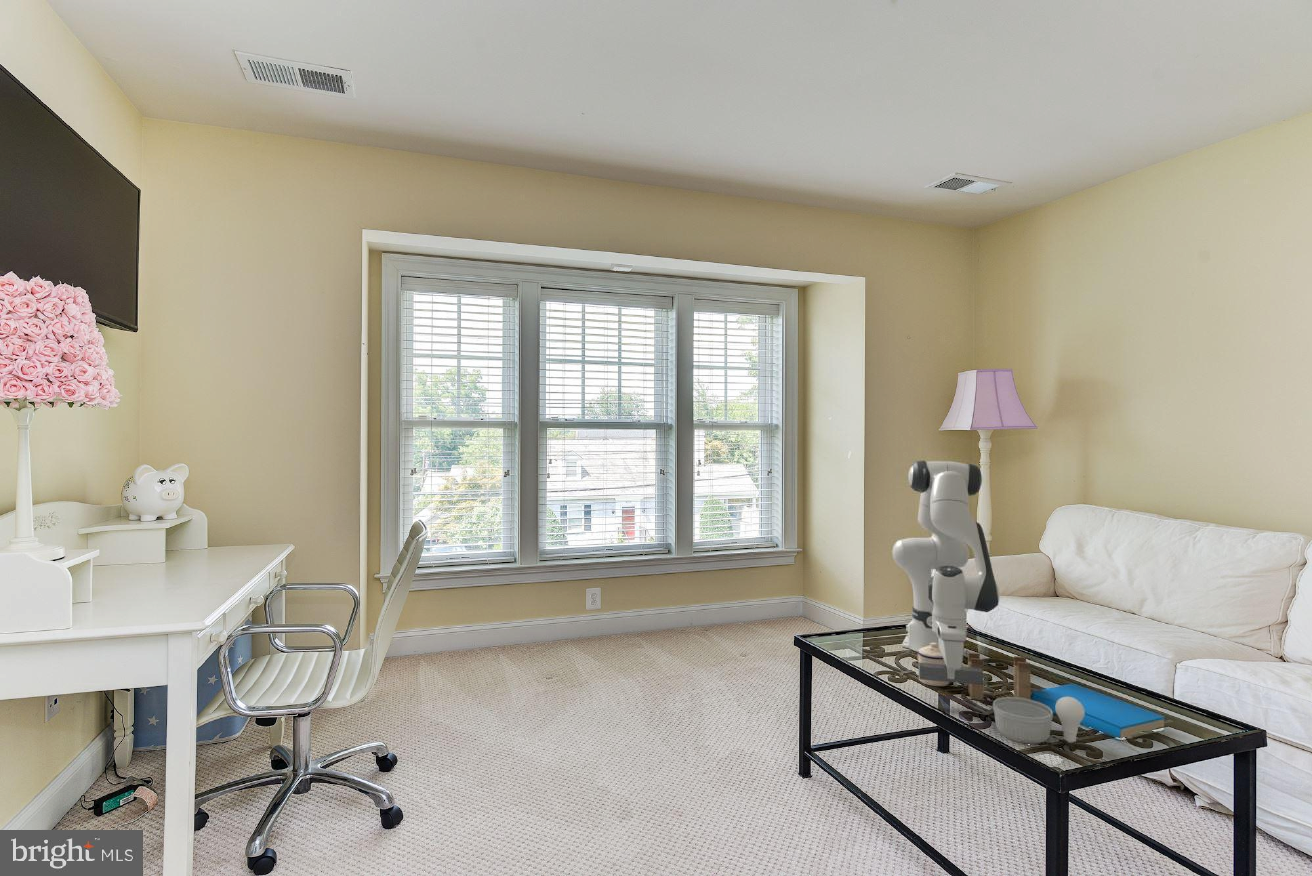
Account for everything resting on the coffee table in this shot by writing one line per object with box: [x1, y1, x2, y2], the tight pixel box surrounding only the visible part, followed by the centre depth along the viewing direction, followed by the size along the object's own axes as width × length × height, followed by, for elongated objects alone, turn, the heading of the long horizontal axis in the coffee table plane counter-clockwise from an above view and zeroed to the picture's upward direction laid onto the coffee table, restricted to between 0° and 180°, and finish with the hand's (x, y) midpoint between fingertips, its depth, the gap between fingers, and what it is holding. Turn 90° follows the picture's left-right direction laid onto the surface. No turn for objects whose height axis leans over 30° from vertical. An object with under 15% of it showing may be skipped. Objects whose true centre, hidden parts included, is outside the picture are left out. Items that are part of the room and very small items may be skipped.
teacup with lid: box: [917, 643, 950, 687], centre depth 206 cm, size 12×9×12 cm
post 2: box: [1013, 655, 1032, 700], centre depth 190 cm, size 6×3×11 cm, turn 163°
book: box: [1031, 683, 1166, 738], centre depth 179 cm, size 17×4×25 cm
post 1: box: [967, 652, 984, 701], centre depth 193 cm, size 6×3×11 cm, turn 163°
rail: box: [918, 663, 982, 685], centre depth 188 cm, size 4×16×4 cm, turn 73°
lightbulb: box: [1055, 697, 1085, 744], centre depth 163 cm, size 6×6×11 cm
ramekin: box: [992, 696, 1054, 745], centre depth 168 cm, size 13×13×7 cm
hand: (949, 675), depth 188 cm, fingers closed on rail, 4 cm apart
